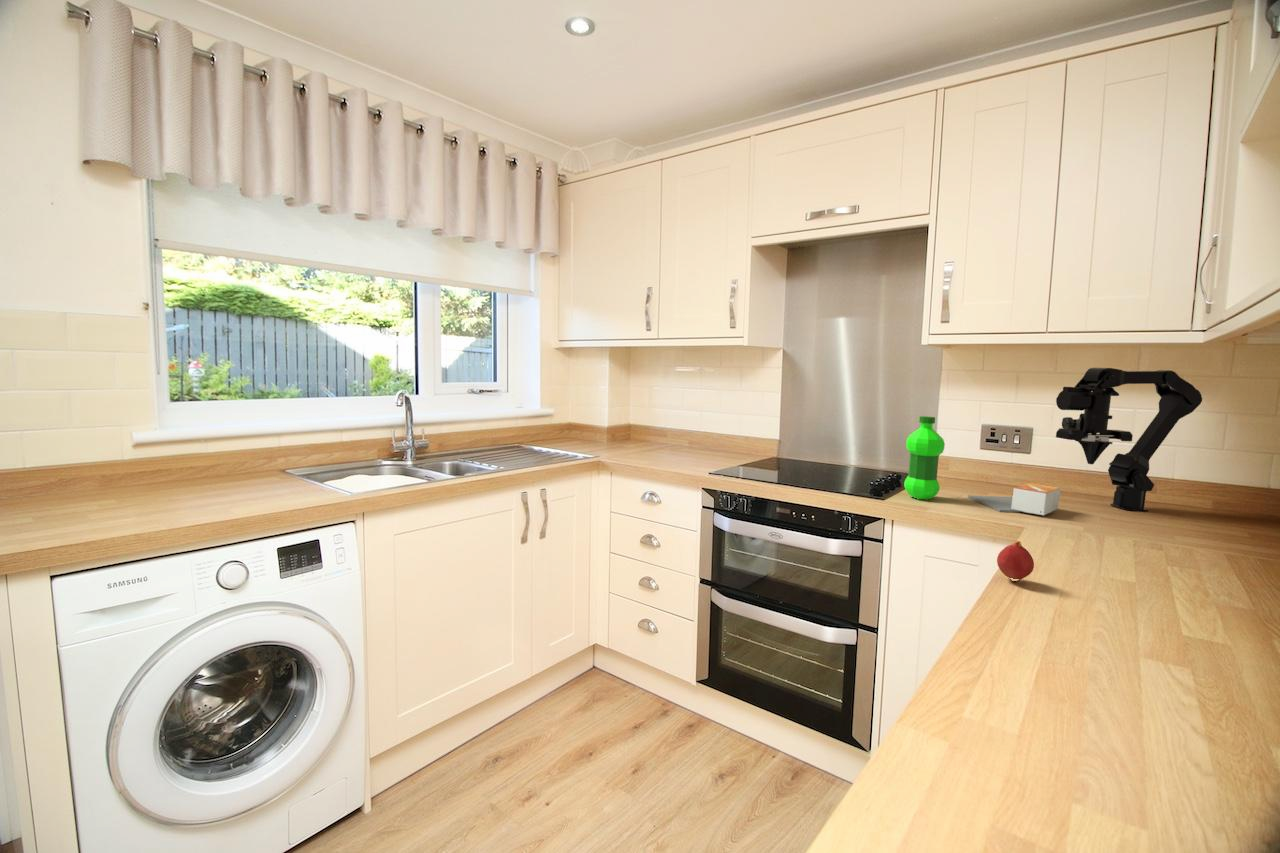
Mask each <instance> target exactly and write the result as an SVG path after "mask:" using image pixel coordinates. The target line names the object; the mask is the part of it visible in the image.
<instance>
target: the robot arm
mask: <svg viewBox="0 0 1280 853" xmlns="http://www.w3.org/2000/svg"><path fill="white" fill-rule="evenodd" d="M1134 384H1135V385H1137V384H1138V385H1139V384H1140V385H1141V384H1142V385H1145V384H1146V385H1147V384H1148V385H1149V384H1151V385H1152V384H1154V386H1155V391H1156V394H1157V395H1158V396H1159V397H1160V399H1159V401H1158V412H1157V414H1156V415H1155V417H1154V418H1153V419H1152V420H1151V422H1150V423H1149V425H1148V426H1147V427H1146V428H1145V430H1144V431H1143V433H1142V434H1141V435H1140V437H1139V438H1138V440H1137V441H1136V442H1135V444H1134V445H1133V446H1132V448H1131V449H1130V451H1128V452H1127V453H1124V454H1123V453H1120V452H1119V453H1117V454H1116V455H1115V456H1114V458H1113V460H1112V461H1111V462H1109V467H1108V469H1107V471H1108V476H1109V477H1110V481H1111V482H1110V483H1111V485H1113V486H1116V487H1115V491H1114V494H1113V501H1112V502H1111V503H1109V504H1110V506H1111V507H1116V508H1118V509H1121V510H1124V511H1138V512H1148V511H1149V508H1145V503H1146V495H1147V492H1151V491H1153V489H1154V486H1155V484H1154V482H1153V480H1151V479H1150V477H1148V473H1149V471H1150V461H1151V458H1152V457H1153V455H1154V454H1155V453H1156V451H1157V450H1158V449H1159V447H1160V446H1161V444H1162V443H1163V442H1164V440H1166V438H1167V436H1168V435H1169V434H1170V433H1171V432H1172V430H1173V429H1174V427H1175V426H1176V425H1177V423H1178V422H1179V420H1180V419H1182V418H1184V417H1186V416H1188V415H1190V414H1192V413H1193V412H1194V411H1195V410H1196V409H1197V408H1198V407H1199V406H1200V405H1201V403H1202V402H1203V397H1202V393H1201V391H1200V390H1199V389H1197V388H1196V387H1194V385H1193V384H1192V383H1190V382H1188V381H1187V380H1185V379H1184V378H1182V377H1181V376H1179V374H1178V373H1177V372H1175V371H1174V370H1169V369H1157V370H1134V371H1133V370H1132V371H1131V370H1129V371H1128V370H1123V369H1119V368H1112V367H1089V368H1088V369H1087V370H1086V371H1085V373H1084V375H1083V377H1081V379H1080V380H1079V381H1078V382H1077V384H1075V385H1074V386H1063V387H1062V390H1061V391H1060V392H1059V393H1058V394H1057V397H1056V399H1055V402H1056V406H1057V408H1058V409H1059V410H1061V411H1083V413H1082V412H1081V413H1080V414H1079V418H1077V419H1074V418H1073V417H1071V416H1069V417H1067V416H1066V417H1062V421H1061V428H1058V429H1057V430H1056V433H1055V438H1058V439H1063V440H1069V441H1075V442H1078V443H1079V444H1080V445H1081V447H1082V450H1083V453H1084V457H1085V459H1086V462H1087V464H1088V465H1094V464H1095V463H1096V461H1097V460H1098V459H1099V457H1100V456H1101V455H1102V453H1103V452H1104V451H1105V450H1106V449H1107V448H1108V447H1109V446H1110V445H1112V444H1113V441H1110V440H1118V441H1119V440H1120V441H1121V442H1133V434H1132V432H1131V431H1128V430H1121V429H1108V424H1109V420H1113V415H1110V409H1111V408H1110V407H1111V399H1112V397H1119V396H1120V393H1119V392H1118V391H1116V390H1115V388H1117V387H1121V386H1123V385H1134Z"/></svg>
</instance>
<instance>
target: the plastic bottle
mask: <svg viewBox="0 0 1280 853" xmlns="http://www.w3.org/2000/svg"><path fill="white" fill-rule="evenodd" d="M918 419H919V420H918V423H920V427H919V428H918V429H917V430H915V431H913V432H912V433H911V434H909V435H908V437H907V438H906V443H905V444H906V446H905V447H906V450H907V451H908V452H909V463H908V475H907V477H906V478H905V479H904V484H903V486H904V489H905V491H906V492H907V494H908V495H909V496H910V497H911V496H912V497H914V498H918V499H917V500H919V499H930V500H931V499H933V498H934V497H935V496H937V495H938V494H939V492H940V487H941V486H940V483H939V481H938V470H939V458H940V457H939V456H941V454H943V453H944V450H945V440H944V439H943V437H942V436H940V434H939V433H938V432H937V431H935V430H934V429H933V426H934V424H935V423H936V417H935V416H927V415H926V416H925V415H921V416H919V418H918ZM912 497H911V498H912ZM914 498H913V499H914Z"/></svg>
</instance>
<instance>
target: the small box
mask: <svg viewBox="0 0 1280 853" xmlns="http://www.w3.org/2000/svg"><path fill="white" fill-rule="evenodd" d="M1060 495H1061V487H1059V486H1051V485H1050V486H1049V485H1044V484H1043V485H1042V484H1037V483H1031V482H1028V483H1025V484H1022V485H1019V486H1017V487H1013V492H1012V497H1013V498H1012V506H1011V509H1013V510H1017V511H1022V512H1027V513H1026V514H1034V515H1039V516H1045V515H1049V514H1048V513H1050V512H1051V513H1052V512H1054V511H1056V510H1059V503H1060Z"/></svg>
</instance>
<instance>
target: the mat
mask: <svg viewBox="0 0 1280 853" xmlns="http://www.w3.org/2000/svg"><path fill="white" fill-rule="evenodd" d="M968 497H969V499H971V500H972V501H973V500H974V501H975V502H977V503H980V504H981V503H982V505H983V506H987V507H988V508H990V509H992V508H993V510H995V511H997V512H999V511H1000V512H1001V513H1014V512H1022V511H1017V510H1013V509H1011V506H1012V498H1013V496H999V495H998V496H996V495H995V496H994V495H993V496H992V495H975V494H974V495H969V494H968V495H967V498H968ZM1000 512H999V513H1000ZM1022 514H1028V513H1027V512H1023V513H1022ZM1051 514H1052V512H1050V513H1048V514H1047V515H1051Z"/></svg>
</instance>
